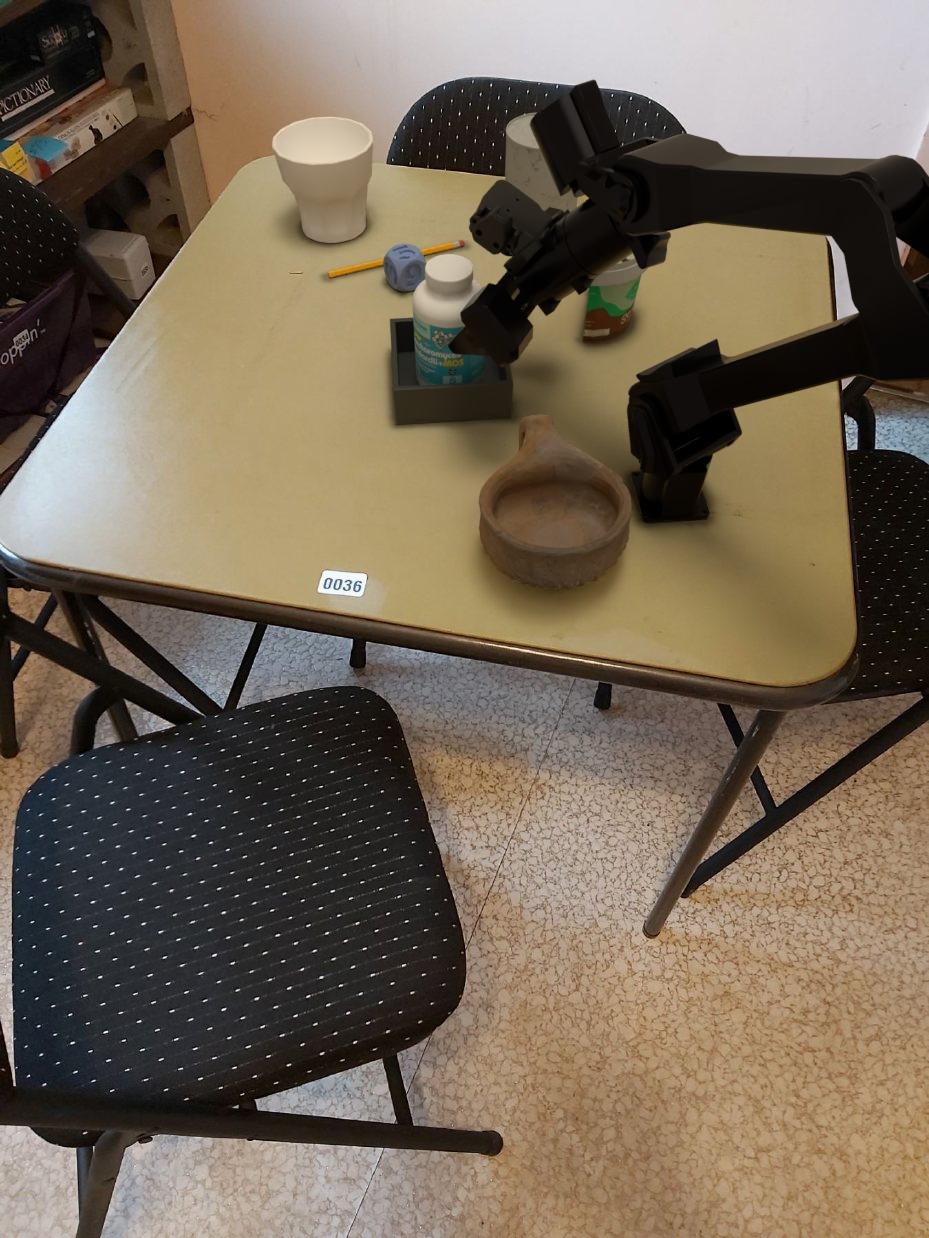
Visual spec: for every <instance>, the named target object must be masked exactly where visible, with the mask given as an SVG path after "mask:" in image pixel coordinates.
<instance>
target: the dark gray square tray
mask: <svg viewBox="0 0 929 1238" xmlns="http://www.w3.org/2000/svg"><path fill="white" fill-rule="evenodd" d="M389 332H390V333H389V334H390V353H391V375H392V391H393V392H392V393H393V402H394V413H395V424H396V425H397V426H398V425H413V424H430V423H431V424H432V423H433V424H434V423H446V422H450V423H451V422H465V421H482V420H483V421H484V420H496V419H498V420H499V419H511V418H513V417H512V416H513V398H514V380H513V379H514V378H513V374H512V368H511V364H509V365H508V366H506V367H500V366H498V365H497V364H496V363H495V362H494V360H493V359H492V358H491V357H490V356H485V372H484V381H483V382H467V383H450V384H432V385H419V384H418V381H417V377H416V360H415V340H414V322H413V317H396V318H389Z"/></svg>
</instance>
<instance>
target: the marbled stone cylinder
mask: <svg viewBox="0 0 929 1238" xmlns="http://www.w3.org/2000/svg"><path fill="white" fill-rule="evenodd" d="M537 112H538V111H537ZM537 112H530V113H526V114H522V115H519V116H517V117H515V118H513V119H511V120H510V121H509V123H507V124H506V127H505V133H506V135H505V138H506V139H505V164H504V165H505V166H504V167H505V169H504V180H506V181H508V182H510V183H511V184H512V185H514V186H515V187H516V188H518V189H519V190H520V191H522V192H523V193H524V194H526V195H527V196H528V197H530V198H531V199H533V200H534V201H535V202H536V203H538V204H539V206H540V207H541V209H542V210H544V211H545V210H546V209H547V208H548V207H552V208H556V209H561V210H563V211H564V212H565V211H566V210H567V209H568V210H569V211H570V212H571V211H573V210H574V209H575V208H577V207H578V199H579V197H574V196H573V193H572V189H571V190H570V191H569V192H568V193H566V194H565V195H563V196H560V195H559V192H558V190H557V188H556V185H555V183H554V181H553V178H552V176H551V174H550V171H549V169H548V167H547V164H546V162H545V160H544V157H543V155H542V153H541V151H540V148H539V146H538V144H537V141H536V139H535V137H534V134H533V132H532V130H531V128H530V121H531V120H532V118H533V117H534V115H535V114H536V113H537Z"/></svg>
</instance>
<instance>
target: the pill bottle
mask: <svg viewBox="0 0 929 1238" xmlns="http://www.w3.org/2000/svg"><path fill="white" fill-rule="evenodd" d="M472 263H473V262H472V261H470V260H469V259H468V258H467V257H464V256H463V255H459V254H453V253H444V254H439V255H436V256H434V257H432V258H430V259H429V260H428V261H426V266H425V280H424V281H422V282H421V283H420V284H419V285H418V286H417V288H416V290H414V291H413V295H412V318H413V322H414V340H415V360H416V377H417V381H418V384H419V385H432V384H450V383H467V382H483V381H484V372H485V356H482V355H460V354H454V353H453V352H452V351H451V350H450V349H449V348H448V344H449V343H450V342H451V341H452V340H453V338H454V337H455V336H456V335H457V334H458V333H459V332H460V331H461V329H462V328H463V327H464V326H465V325H464V324H463V322H462V321H461V315H460V312H461V311H462V310H463V308H464V307H465V306H466V305H467V303H468V302H469V301H470V300H471V298H472V297H473V296H474V295H475V294H476V293H477V292H479V291H480V290H481V289H482V288H483V286H482V285H481V284H480V282H479V281H477V280H476V279H474V266H473V264H472Z"/></svg>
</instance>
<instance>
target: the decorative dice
mask: <svg viewBox="0 0 929 1238" xmlns="http://www.w3.org/2000/svg"><path fill="white" fill-rule="evenodd" d="M421 250H422V249H420V248H419V247H418V246H416V245H414V244H411V243H400V244H396V245H393V246H392V247H390V248H389V249H388V250H387V252H386V253H385V255H384V258H383V259H384V260H383V266H382V268H383V272H384V275H385V278H386V280H387V282H388V284H389V285H390V286H391V287H392V289H394V290H396V291H398V292H403V293H404V292H405V293H408V292H414V291H415V290H416V288H417V286H418V285H419V284H420V283H421V282H422V281H424V280H425V266H426V264H427V261H426V258H425V256H424V255H423V253H422V252H421Z"/></svg>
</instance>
